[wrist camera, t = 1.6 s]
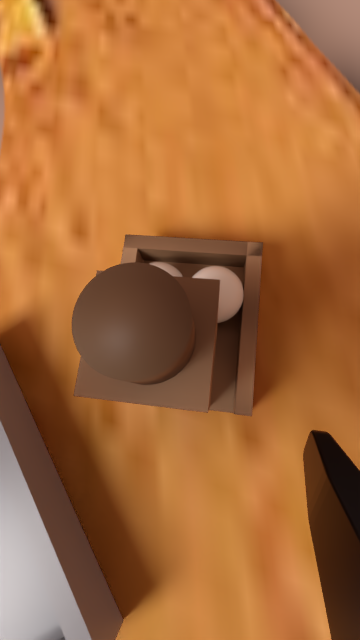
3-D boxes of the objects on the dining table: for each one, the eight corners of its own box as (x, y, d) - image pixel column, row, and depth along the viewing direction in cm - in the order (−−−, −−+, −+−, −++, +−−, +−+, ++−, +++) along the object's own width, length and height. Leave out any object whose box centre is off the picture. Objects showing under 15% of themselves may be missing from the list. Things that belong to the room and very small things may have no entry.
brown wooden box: (246, 413, 18) (313, 441, 6) (114, 397, 19) (-56, 392, 7) (256, 264, 20) (321, 61, 8) (136, 255, 21) (36, 63, 9)
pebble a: (248, 309, 18) (261, 295, 15) (204, 337, 18) (208, 329, 15) (219, 267, 19) (226, 246, 16) (176, 293, 19) (174, 277, 16)
